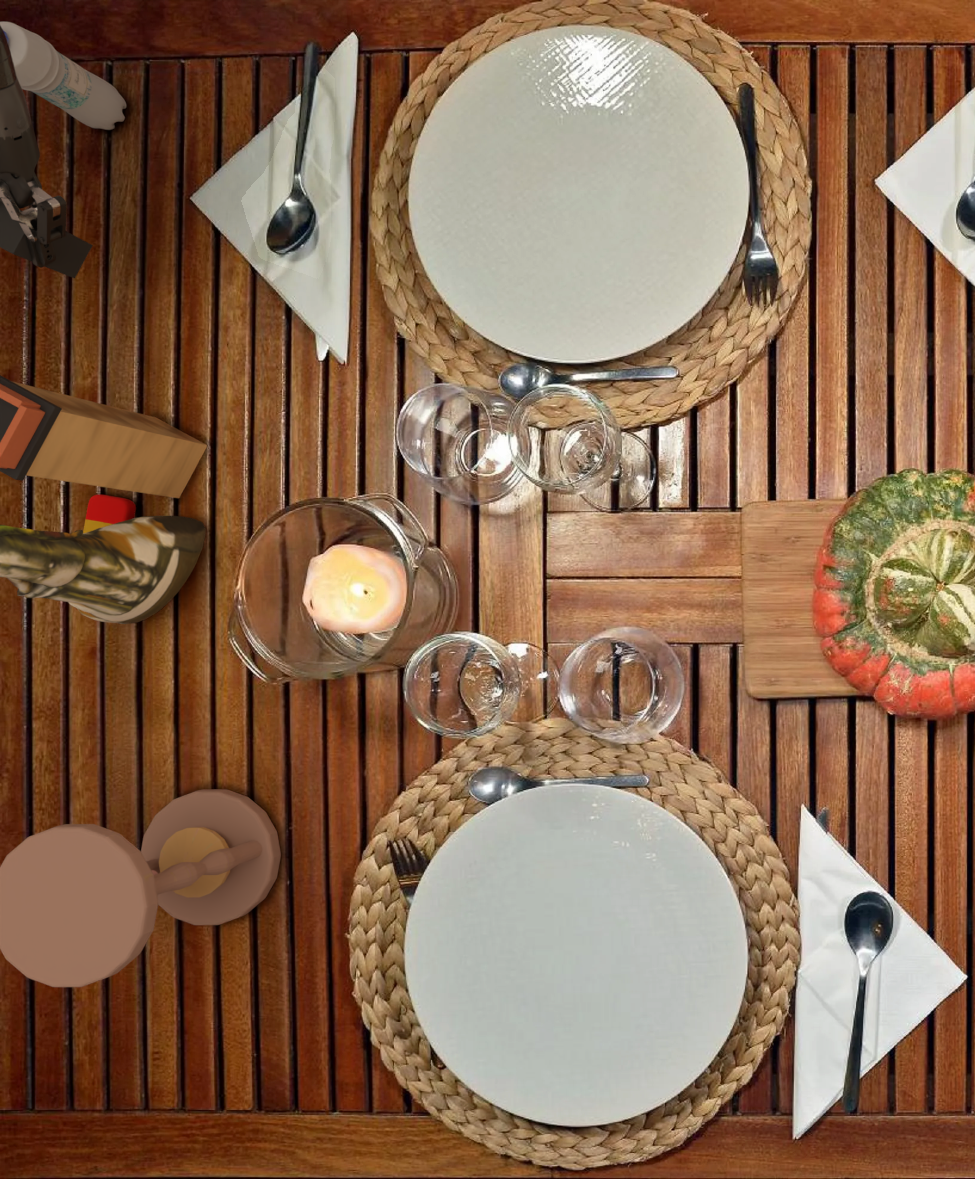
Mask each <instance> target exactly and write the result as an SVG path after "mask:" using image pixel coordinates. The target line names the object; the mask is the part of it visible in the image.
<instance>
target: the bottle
mask: <svg viewBox="0 0 975 1179" xmlns="http://www.w3.org/2000/svg"><path fill="white" fill-rule="evenodd" d="M0 26H1V27H2V29H3V32H4V34H5V36H6V39H7V41H8V45H9V48H10V52H11V55H12V59H13V63H14V67H15V71H16V75H17V78H18V81H19V83H20V86H21V88H22V90H23V91H28V92H29V91H30V92H32V93H34V94H35V95H37V96H38V97H40V98H42V99H44V100H46V101H47V102H49V103H50V104H52V105H54V106H56V107H58V108H60V109H61V110H62V111H63V112H66V114H68V115H70V116H71V117H73V118H74V119H75V120H77V121H78V122H80V123H81V124H83V125H85V126H87V127H89V128H91V129H101V130H106V131H111V130H113V129H115V128H116V126H115V123H117V122H120V123H121V122H124V121H125V119H126V117H125V115H124V113H123V110H125V109H126V108H127V102H126V100H125V98H124V97H123V96H122V95H121V94H120V92H119V91H118V89H116V87H115V86H113V84H111V83H110V82H109V81H106V80H105V79H103V78H101V77H99V76H98V75H96V74H94V73H92V72H90V71H88V70H86V69H85V68H84V67H82V66H81V65H79V64H78V63H76V62H75V61H73V60H71V58H68V57H67V56H65V55H64V54H62V53H60V52H59V51H57V50H56V49H55V47H54V45H53V44H51V43H50V42H49V41H47V40H45V39H44V38H43V37H42V36H40V35H39V34H37V33H35V32H32V31H30V30H28V29H25V28H24V27H22V26H20V25H17V23H14V22H11V21H0Z"/></svg>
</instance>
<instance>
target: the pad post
mask: <svg viewBox="0 0 975 1179" xmlns="http://www.w3.org/2000/svg"><path fill="white" fill-rule="evenodd" d="M19 210H20V212H21V211H22V210H21V209H19ZM30 223H31V225H32V227H33V228H36V227H37V220H36V218H35V219H32V220H31V221H30ZM26 239H27V237H26V235H25V233H24V232H23V230H22V228H21V226H20V224H19V222H17V221H14V220H12V218H11V216H10V214H9V212H8V211H7V209H6V207H5V205H4V203H2V202H0V248H1V249H3V250H4V251H6V252H8V253H10V254H12V255H14V256H17V257H19V258H22V259H24V260H26V261H29V262H32V258H31V255H30V251H29V248H28V244H27V241H26ZM52 245H53V249H54V250H53V251H54V254H55V257H56V259H55V261H54V262H53V263H51V264H49V265H47V266H44V267H43V268H47V269H50V270H52V271H54V272H57V273H60V274H62V275H64V276H67V277H69V278H72V279H76V277H77V276H78V274H79V272H80V270H81V268H82V266H83V264H84V263H85V261H86V259H87V257H88V255H89V253H90V251H91V249H92V247H93V246H94V245H93V244H91V243H89V242H87V241H86V240H84V239H82V238H80V237H78V236H76V235H74V234H72V233H70V232H69V231H67V230H66V236H65V237H63V238H59V239H57V240H54V241H52Z"/></svg>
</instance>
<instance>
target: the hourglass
mask: <svg viewBox="0 0 975 1179" xmlns="http://www.w3.org/2000/svg"><path fill="white" fill-rule="evenodd" d="M279 840H280V839H279V836H278V831H277V829H276V828H275V826H274V823H273V822H272V820H271V819H270V817H269V815H268V813H267V811H265V810H264V808H262V807H261V806H259V805H258V804H257V803H256V802H255V801H253V800H252V799H251V798H250V797H249V796H246V795H243V794H241V793H238V792H235V791H234V790H230V789H227V788H222V789H221V788H219V789H217V788H216V789H215V788H213V789H211V788H209V789H208V788H207V789H206V788H205V789H198V790H195V791H192V792H190V793H188V794H184V795H181V796H179V797H177V798H173V799H172V800H171V801H170V802H169V803H168V804H166V805H165V806H164V807H163V808H162V809H160V810H159V811H158V812H157V813H156V814H155V815H154V817H153V819H152V820H151V822H150V823H149V826H148V827H147V829H146V831H145V832H144V834H143V838H142V843H141V850H140V849H138V848H137V847H136V846H135V845H134V844H133V843H131V842H130V841H129V840H128V839H127V838H126V837H125V836H123V835H122V834H121V833H119V832H117V831H114V830H111V829H108V828H106V827H103V826H101V825H98V824H95V823H65V824H61V825H60V824H59V825H55V826H53V827H51V828H48V829H46V830H43V831H40V832H37V833H35V834H32V835H30V836H28V837H26V838H25V839H24V840H23V841H22V842H21V843H20V844H18V845H17V846H16V847H15V848H14V849H12V850H11V851H10V852H9V853H8V854H6V856H5V858H4V860H3V861H2V863H1V865H0V951H1V953H2V955H3V956H4V958H5V960H6V961H7V962H8V963H10V965H12V966H13V967H14V968H16V970H18V971H19V972H20V973H21V974H23V976H25V977H26V978H27V979H30V980H32V981H35V982H38V983H41V984H44V985H45V986H46V985H47V986H49V987H52V988H83V987H86V986H89V985H91V984H94V983H97V982H100V981H102V980H105V979H107V978H110V977H112V976H114V975H117V974H118V973H119V972H121V971H122V970H123V969H124V968H125V967H127V966H128V965H129V964H130V963H132V961H134V960H135V959H136V958H137V957H138V956H139V955H141V953H142V951H143V950H144V948H145V946H146V944H147V942H148V940H149V939H150V937H151V935H152V934H153V932H154V930H155V924H156V920H157V913H158V907H159V908H161V909H162V910H164V911H165V912H166V913H167V914H168V915H169V916H171V917H172V918H174V919H176V920H179V921H181V922H184V923H186V924H189V925H190V924H191V925H193V926H219V925H223V924H225V923H228V922H230V921H233V920H235V919H238V918H242V917H244V916H246V915H247V914H249V913H250V912H251V911H252V910H253V909H255V908H256V907H257V906H258V905H260V904H261V903H262V902H263V901H264V900H265V899H266V898H267V897H268V895H269V893H270V891H271V889H272V887H273V886H274V884H275V882H276V880H278V874H279V868H280V863H281V858H282V851H281V846H280V841H279Z"/></svg>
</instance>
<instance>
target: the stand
mask: <svg viewBox="0 0 975 1179" xmlns="http://www.w3.org/2000/svg"><path fill="white" fill-rule="evenodd" d="M11 381H12V382H14V383H16V384H17V385H19V386H21V387H23V388H25V389H27V390H29V391H30V392H32V393H34V394H36V395H38V396H40V397H42V398H43V399H45V400H47V401H49V402H51V403H53V404H54V405H56V406H58V407H60V408H62V410H61V411H60V413H59V415H58V417H57V419H56V421H55V423H54V424H53V426H52V428H51V430H50V432H49V434H48V436H47V437H46V439H45V441H44V443H43V445H42V447H41V449H40V450H39V452H38V454H37V456H36V458H35V460H34V461H33V463H32V465H31V467H30V469H29V471H28V473H27V474H26V476H27V477H34V478H40V479H46V480H53V481H61V482H66V483H67V482H68V483H74V484H79V485H80V484H81V485H86V486H87V485H88V486H95V487H101V488H106V489H107V488H108V489H113V490H114V489H115V490H120V491H121V490H122V491H126V492H134V493H141V494H145V495H146V494H147V495H153V496H161V497H167V498H173V499H180V498H181V496H182V494H183V492H184V490H185V488H186V487H187V485H188V483H189V481H190V479H191V477H192V475H193V473H194V472H195V470H196V468H197V467H198V464H199V462H200V460H201V459H202V457H203V455H204V453H205V452H206V449H207V448H208V444H206V443H204V442H202V441H201V440H198V439H197V438H195V437H193V436H191V435H189V434H187V433H185V432H184V431H182V430H181V429H178V428H176V427H175V426H173V425H171V424H169V423H167V422H165V421H164V420H161V419H159V418H157V417H155V416H153V415H152V416H151V415H149V414H148V415H147V414H144V413H139V412H135V411H132V410H128V409H125V408H124V409H123V408H119V407H116V406H112V405H108V404H104V403H100V402H96V401H91V400H88V399H83V398H80V397H76V396H73V395H68V394H64V393H60V392H56V391H52V390H49V389H44V388H41V387H36V386H32V385H28V384H25V383H20V382H16V381H13V380H11ZM26 476H25V477H26Z"/></svg>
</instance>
